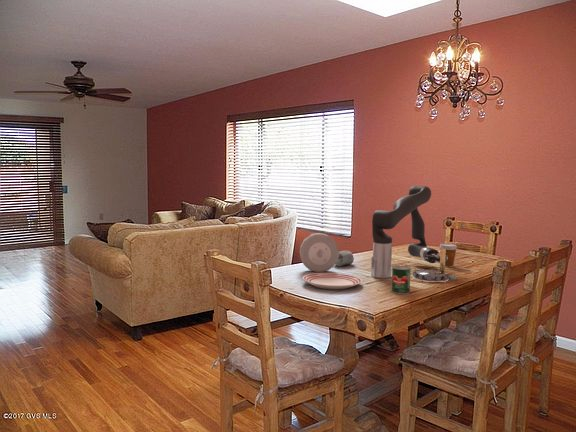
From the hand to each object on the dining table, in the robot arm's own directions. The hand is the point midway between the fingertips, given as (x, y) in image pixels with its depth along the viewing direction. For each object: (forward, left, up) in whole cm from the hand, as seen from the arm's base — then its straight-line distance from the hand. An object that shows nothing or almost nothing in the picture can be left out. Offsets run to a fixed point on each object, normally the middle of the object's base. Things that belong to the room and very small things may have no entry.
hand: (443, 261), depth 230 cm
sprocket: (-7, -2, -8) cm, 11 cm away
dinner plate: (-58, -12, -9) cm, 60 cm away
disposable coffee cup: (+15, +29, -9) cm, 34 cm away
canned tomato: (-30, -26, -9) cm, 40 cm away
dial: (-60, +16, -9) cm, 63 cm away
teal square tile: (+4, -2, -8) cm, 10 cm away
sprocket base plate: (-7, -2, -8) cm, 11 cm away
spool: (-44, +32, -9) cm, 55 cm away
